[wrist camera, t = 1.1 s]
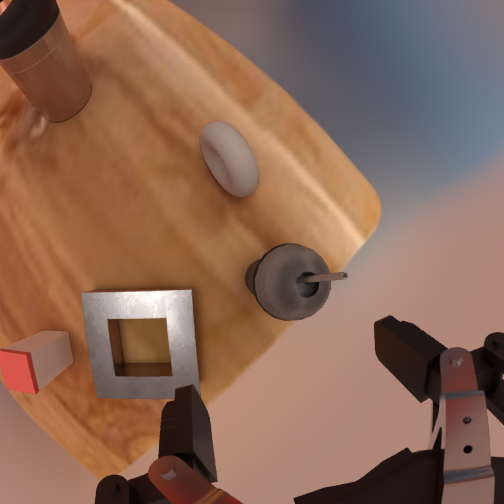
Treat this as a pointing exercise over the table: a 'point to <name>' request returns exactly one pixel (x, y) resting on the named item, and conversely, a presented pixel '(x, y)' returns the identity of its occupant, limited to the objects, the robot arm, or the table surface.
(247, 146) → the donut
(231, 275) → the table surface
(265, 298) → the beverage cup
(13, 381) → the plug peg
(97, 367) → the square socket housing
